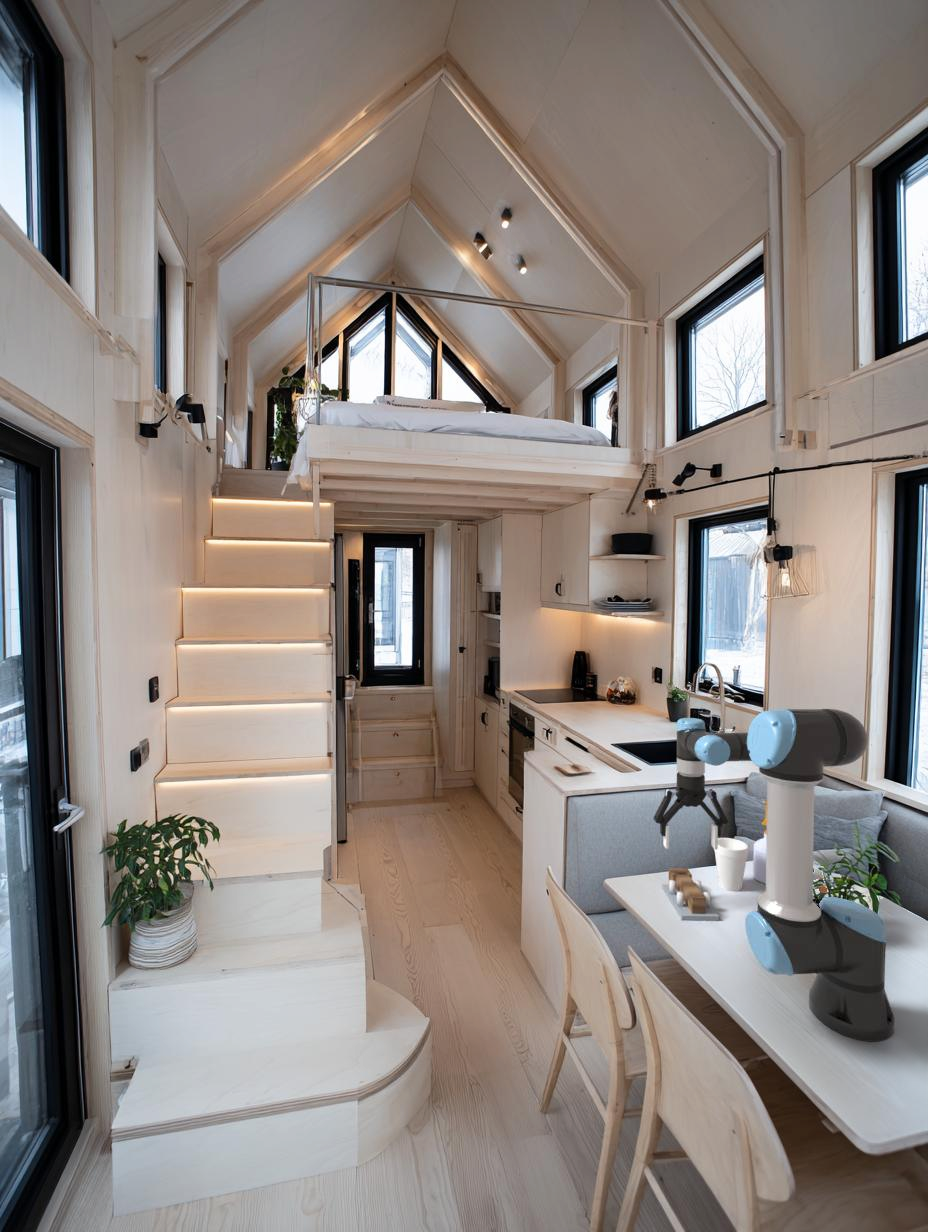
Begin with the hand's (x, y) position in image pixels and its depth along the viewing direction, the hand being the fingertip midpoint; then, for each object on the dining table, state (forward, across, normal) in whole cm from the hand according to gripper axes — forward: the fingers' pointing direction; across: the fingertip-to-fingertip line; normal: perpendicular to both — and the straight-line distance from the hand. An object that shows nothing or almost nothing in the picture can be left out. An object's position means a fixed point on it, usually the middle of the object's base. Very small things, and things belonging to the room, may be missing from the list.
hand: (690, 847), depth 173 cm
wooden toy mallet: (+15, 0, -1) cm, 15 cm away
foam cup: (+16, -16, -12) cm, 26 cm away
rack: (+16, 0, 0) cm, 16 cm away
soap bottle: (+16, -30, -16) cm, 38 cm away
